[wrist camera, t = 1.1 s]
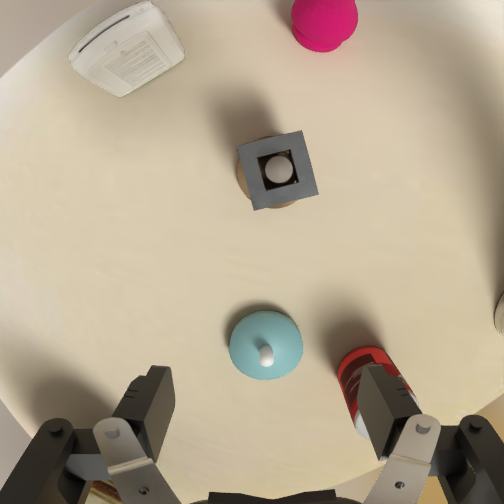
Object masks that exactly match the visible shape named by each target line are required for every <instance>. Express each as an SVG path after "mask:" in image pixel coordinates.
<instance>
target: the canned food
mask: <svg viewBox="0 0 504 504" xmlns="http://www.w3.org/2000/svg"><path fill="white" fill-rule="evenodd" d="M380 364H381V365H382V366H383V367H384V369H385V370H386V372H387V374H388V375H391V374H393V375H395V376H396V377H397V378H399V379H400V380H401V381H402V382H403V384H404V385H405V387H406V389H407V390H408V391H409V393H410V395H411V396H412V398H413V399H414V401H415V402H416V404H417V406H418V407H419V405H418V401H417V399H416V396H415V395H414V393H413V391H412V390H411V388H410V387H409V385H408V384H407V382H406V381H405V379H404V378H403V376H402V375H401V373H400V372H399V370H398V369H397V367H396V366H395V364H394V363H393V361H392V360H391V359H390V357H389V356H388V354H387V353H386V352H384V351H383V350H381V349H379V348H377V347H372V346H366V347H361V348H358V349H355V350H353V351H352V352H350V353H349V354H347V355H346V356H345V357H344V359H343V360H342V361H341V363H340V365H339V369H338V381H339V384H340V387H341V389H342V392H343V395H344V398H345V401H346V404H347V407H348V409H349V412H350V415H351V418H352V421H353V423H354V426H355V428H356V430H357V432H358V434H360V435H361V436H362V437H364V438H366V439H370V437H369V434H368V432H367V429H366V427H365V424H364V422H363V419H362V416H361V414H360V411H359V409H358V405H357V394H358V389H359V384H360V379H361V374H362V370H363V367H364V366H369V365H380ZM370 440H371V439H370Z"/></svg>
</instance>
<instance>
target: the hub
mask: <svg viewBox="0 0 504 504" xmlns="http://www.w3.org/2000/svg"><path fill="white" fill-rule="evenodd" d="M229 353H230V357H231V360H232V362H233V364H234V365H235V366H236V368H237V369H238V370H239V371H241V372H242V373H243V374H245V375H247V376H249V377H252V378H255V379H260V380H271V379H276V378H280V377H282V376H284V375H286V374H288V373H289V372H291V371H292V370H293V369H294V368H295V367H296V366H297V365H298V363H299V361H300V359H301V357H302V353H303V342H302V338H301V334H300V331H299V329H298V327H297V325H296V324H295V323H294V322H293V320H291V319H290V318H289V317H287V316H286V315H284V314H282V313H279V312H276V311H268V310H265V311H257V312H254V313H251V314H249V315H247V316H245V317H244V318H242V319H241V320H240V321H239V322H238V323H237V324H236V326H235V327H234V329H233V331H232V334H231V339H230V345H229Z"/></svg>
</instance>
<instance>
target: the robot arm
mask: <svg viewBox="0 0 504 504" xmlns="http://www.w3.org/2000/svg"><path fill="white" fill-rule="evenodd" d="M495 327H496V329H497V331H498V332H499V333H501V334H502V335H503V336H504V293H503V295H502V296H501V298H500V300H499V303H498V305H497V308H496V312H495ZM357 405H358V409H359V411H360V414H361V416H362V419H363V422H364V424H365V427H366V429H367V432H368V434H369V437H370V439H371V442H372V445H373V447H374V450H375V452H376V455H377V458H378V460H379V461H382V460H387V462H386V464H385V466H384V467H383V470H382V471H381V473H380V475H379V477H378V479H377V480H376V482H375V484H374V486H373V487H372V489H371V491H370V492H369V494H368V496H367V498H366V499H365V501H364V503H363V504H417V502H418V499H419V497H420V495H421V492H422V489H423V487H424V484H425V482H426V479H427V476H437V477H438V480H439V482H440V484H441V487H442V489H443V492H444V494H445V496H446V499H447V501H448V504H504V443H503V442H502V440H501V439H500V437H499V436H498V434H497V433H496V431H495V430H494V428H493V427H492V426H491V424H490V423H489V422H488V420H487V419H485V418H484V417H482V416H479V415H468V416H465V417H464V418H463V419H462V420H461V422H460V424H459V426H442V425H440V423H439V421H438V420H437V419H436V418H434V417H432V416H430V415H426V414H422V412H421V410H420V409H419V407H418V406H417V404H416V402H415V401H414V399H413V398H412V396H411V395H410V393H409V391H408V390H407V389H406V387H405V385H404V384H403V382H402V381H401V380H400V379H399V378H397V377H396V376H395V375H393V374H391V375H388V374H387V372H386V370H385V369H384V367H383V366H382V365H381V364H380V365H369V366H364V367H363V370H362V374H361V379H360V384H359V389H358V394H357ZM174 408H175V392H174V386H173V380H172V373H171V369H170V367H168V366H155V365H152V366H151V368H150V369H149V371H148V373H147V375H146V376H141V375H140V376H138V377H137V378H136V379H134V380H133V381H132V382H131V383H130V385H129V387H128V389H127V391H126V392H125V394H124V397H122V399H121V401H120V403H119V404H118V406H117V408H116V410H115V412H114V413H113V415H112V417H111V418H106V419H103V420H101V421H99V422H98V423H97V424H96V425H95V426H94V429H74V428H73V426H72V424H71V423H70V422H69V421H68V420H65V419H61V418H55V419H51V420H48V421H46V422H45V423H44V424H43V425H42V426H41V427H40V429H39V430H38V432H37V433H36V435H35V436H34V438H33V439H32V441H31V442H30V444H29V446H28V447H27V449H26V450H25V452H24V453H23V455H22V456H21V458H20V460H19V461H18V463H17V465H16V466H15V468H14V469H13V471H12V473H11V474H10V476H9V478H8V479H7V481H6V482H5V484H4V486H3V488H2V489H1V491H0V504H85V502H86V500H87V497H88V494H89V492H90V489H91V487H92V484H93V481H94V480H112V481H113V483H114V485H115V487H116V489H117V492H118V494H119V496H120V498H121V500H122V502H123V504H181V502H180V501H179V500H178V498H177V497H176V495H175V494H174V492H173V491H172V490H171V488H170V487H169V485H168V484H167V482H166V481H165V479H164V478H163V476H162V475H161V473H160V471H159V470H158V468H157V467H156V465H155V464H154V463H156V462H157V459H158V456H159V453H160V450H161V447H162V444H163V441H164V438H165V435H166V432H167V429H168V426H169V423H170V420H171V417H172V414H173V411H174ZM471 466H472V467H471ZM472 468H473V469H472ZM473 470H474V471H473ZM474 472H475V473H474ZM190 504H362V503H360V502H357V501H355V500H351V499H348V498H342V497H336V493H335V489H332V490H322V491H311V492H303V493H299V494H295V495H291V496H287V497H283V498H279V499H265V498H260V497H255V496H250V495H245V494H241V493H220V492H209V497H208V500H202V501H197V502H194V503H190Z"/></svg>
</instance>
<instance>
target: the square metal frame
mask: <svg viewBox="0 0 504 504" xmlns="http://www.w3.org/2000/svg"><path fill="white" fill-rule="evenodd" d="M237 150H238V154H239V157H240V161H241V164H242V168H243V172H244V175H245V179H246V183H247V187H248V190H249V194H250V198H251V201H252V205H253V209H254V211H255V210H259V209H263V208H267V207H271V206H275V205H279V204H282V203H286V202H290V201H294V200H298V199H302V198H306V197H311V196H315V195H319V194H318V190H317V186H316V182H315V178H314V174H313V170H312V166H311V162H310V158H309V155H308V151H307V147H306V143H305V140H304V136H303V133H302V130H301V131H297V132H292V133H288V134H283V135H279V136H275V137H271V138H267V139H263V140H259V141H255V142H251V143H247V144H244V145H240V146H237ZM284 152H288V154H289V158H290V161H291V164H292V167H293V173H294V176H295V180H296V183H291V184H287V185H283V186H279V187H275V188H271V189H268V190H265V187H264V183H263V179H262V176H261V172H260V168H259V164H258V161H257V159H260V158H264V157H268V156H272V155H276V154H280V153H284Z"/></svg>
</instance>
